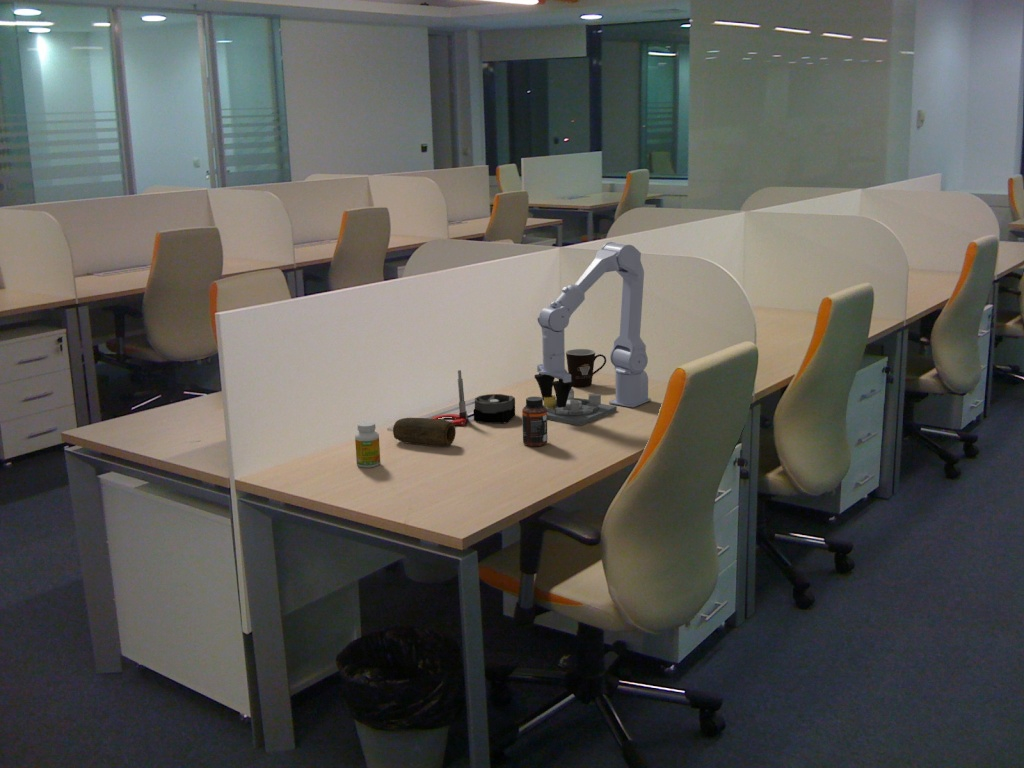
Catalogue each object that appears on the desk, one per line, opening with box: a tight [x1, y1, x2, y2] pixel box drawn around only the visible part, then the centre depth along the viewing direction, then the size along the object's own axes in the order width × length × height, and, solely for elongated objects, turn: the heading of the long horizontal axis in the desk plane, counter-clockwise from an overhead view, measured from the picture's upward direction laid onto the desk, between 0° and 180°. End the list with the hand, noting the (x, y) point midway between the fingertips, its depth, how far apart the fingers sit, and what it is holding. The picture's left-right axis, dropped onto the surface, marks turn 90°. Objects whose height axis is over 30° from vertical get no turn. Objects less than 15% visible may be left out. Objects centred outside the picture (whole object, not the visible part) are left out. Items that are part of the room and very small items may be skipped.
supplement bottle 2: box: [521, 396, 549, 448], centre depth 238 cm, size 6×6×11 cm
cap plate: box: [543, 400, 618, 427], centre depth 264 cm, size 17×17×3 cm
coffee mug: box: [565, 348, 607, 389], centre depth 292 cm, size 12×9×10 cm
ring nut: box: [543, 388, 602, 416], centre depth 264 cm, size 15×15×4 cm
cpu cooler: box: [473, 393, 516, 424], centre depth 261 cm, size 10×6×10 cm
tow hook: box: [429, 369, 469, 427], centre depth 258 cm, size 9×14×10 cm
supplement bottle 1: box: [354, 420, 381, 469], centre depth 226 cm, size 5×5×10 cm
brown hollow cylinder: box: [392, 417, 457, 447], centre depth 241 cm, size 15×7×7 cm, turn 69°
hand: (554, 403), depth 262 cm, fingers open, 7 cm apart
